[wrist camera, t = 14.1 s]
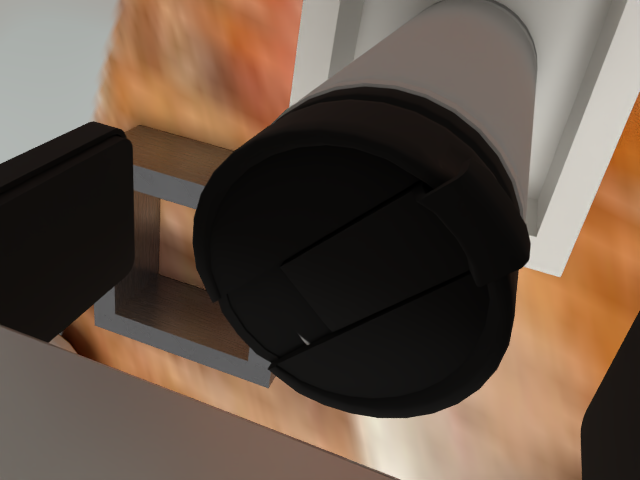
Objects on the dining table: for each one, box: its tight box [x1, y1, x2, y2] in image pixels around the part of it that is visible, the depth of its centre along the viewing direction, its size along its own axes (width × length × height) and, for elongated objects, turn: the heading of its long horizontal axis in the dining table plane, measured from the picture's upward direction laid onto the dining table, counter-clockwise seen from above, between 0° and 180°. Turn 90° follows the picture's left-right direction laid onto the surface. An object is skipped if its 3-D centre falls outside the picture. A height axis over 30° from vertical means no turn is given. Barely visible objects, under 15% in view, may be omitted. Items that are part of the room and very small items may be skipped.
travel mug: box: [193, 0, 537, 418], centre depth 19 cm, size 6×7×20 cm
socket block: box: [94, 125, 276, 388], centre depth 37 cm, size 12×12×5 cm
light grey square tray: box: [289, 0, 640, 277], centre depth 27 cm, size 13×13×6 cm
